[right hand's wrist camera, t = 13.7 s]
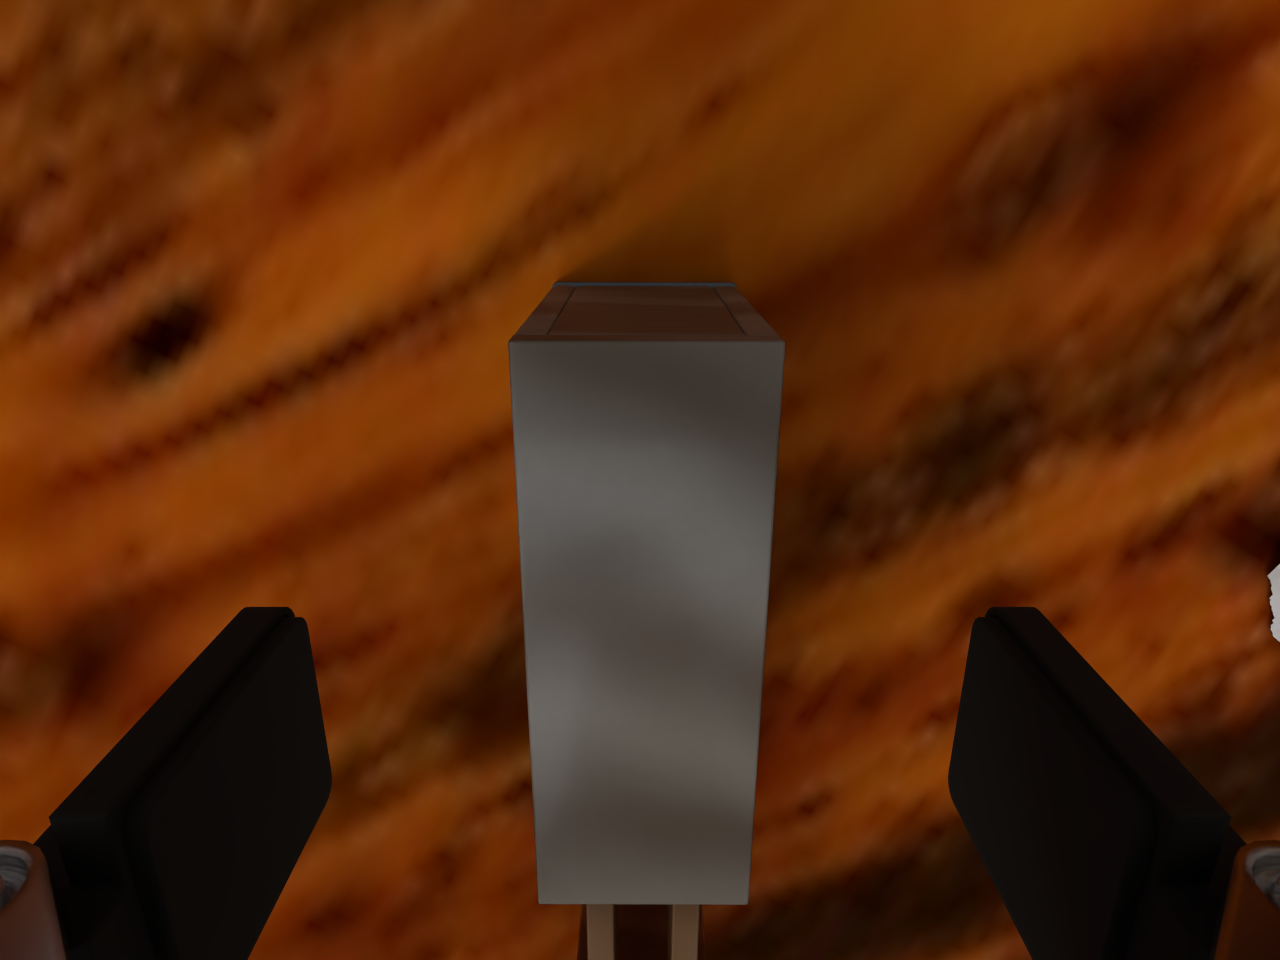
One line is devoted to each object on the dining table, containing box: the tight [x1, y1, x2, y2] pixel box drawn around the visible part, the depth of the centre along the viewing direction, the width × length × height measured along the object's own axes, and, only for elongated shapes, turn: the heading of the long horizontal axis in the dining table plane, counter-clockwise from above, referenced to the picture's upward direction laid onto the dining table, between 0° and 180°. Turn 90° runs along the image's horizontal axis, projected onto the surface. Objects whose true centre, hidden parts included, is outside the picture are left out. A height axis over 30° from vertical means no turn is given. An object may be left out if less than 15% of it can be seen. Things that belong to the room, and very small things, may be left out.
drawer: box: [577, 904, 707, 960], centre depth 28 cm, size 20×4×8 cm, turn 0°
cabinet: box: [508, 282, 785, 905], centre depth 24 cm, size 16×6×10 cm, turn 0°
